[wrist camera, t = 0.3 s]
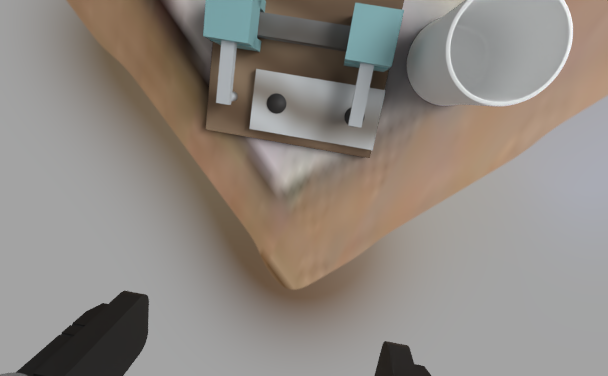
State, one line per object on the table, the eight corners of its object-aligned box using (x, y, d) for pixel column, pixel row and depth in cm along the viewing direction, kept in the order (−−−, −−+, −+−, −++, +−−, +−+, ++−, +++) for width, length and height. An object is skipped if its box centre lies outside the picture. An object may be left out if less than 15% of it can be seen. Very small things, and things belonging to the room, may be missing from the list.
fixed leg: (352, 15, 32) (355, 1, 28) (394, 21, 32) (404, 8, 27) (333, 119, 35) (333, 123, 30) (371, 126, 35) (377, 131, 30)
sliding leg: (225, -5, 33) (207, -22, 28) (266, 1, 33) (254, -15, 28) (216, 99, 36) (198, 100, 31) (253, 106, 36) (240, 107, 31)
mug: (491, -31, 32) (580, -104, 20) (541, 43, 33) (653, 13, 21) (389, 58, 34) (416, 38, 23) (439, 122, 36) (488, 135, 24)
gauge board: (223, -33, 34) (211, -46, 31) (403, -5, 33) (410, -15, 30) (209, 128, 38) (198, 131, 35) (368, 156, 37) (371, 161, 34)
